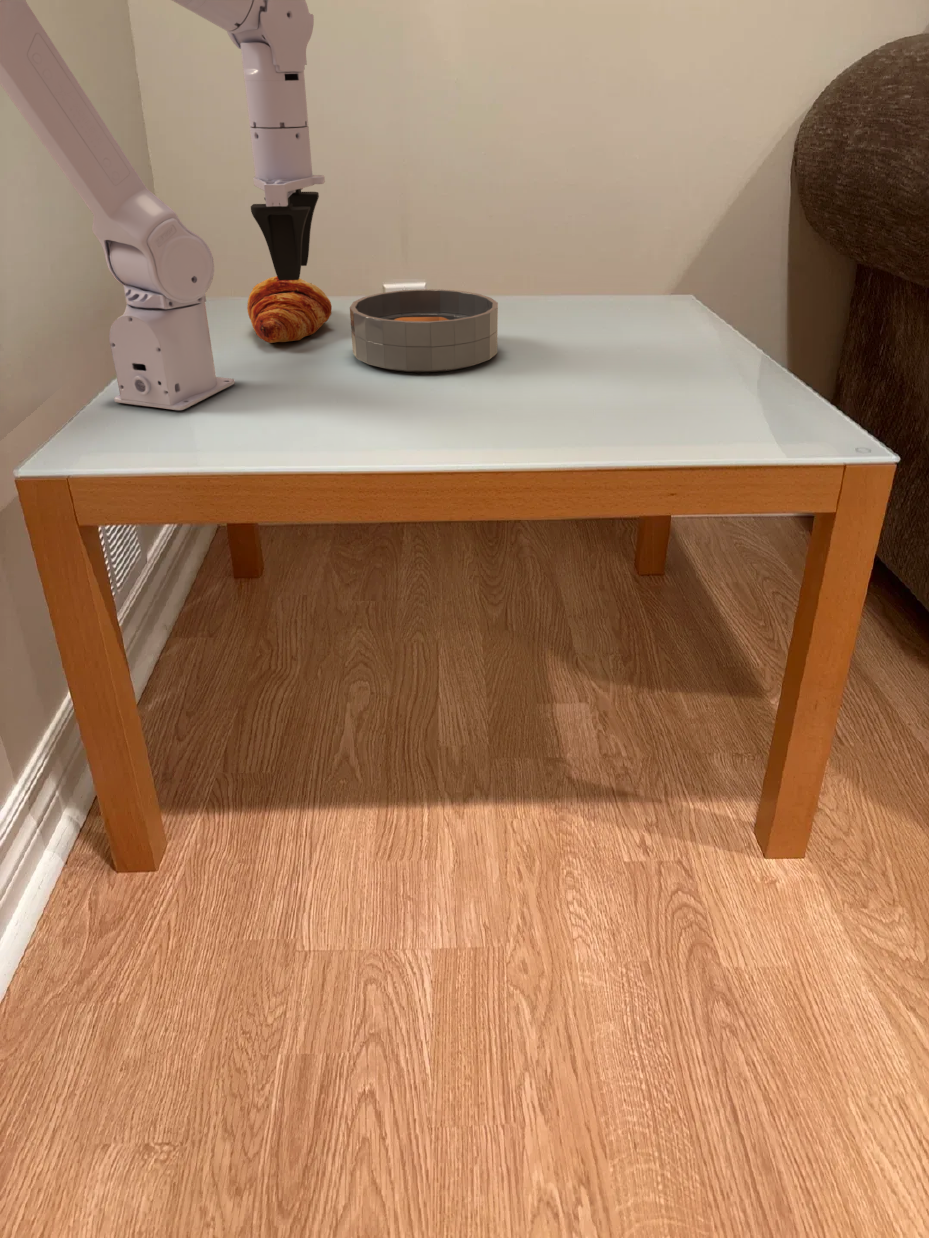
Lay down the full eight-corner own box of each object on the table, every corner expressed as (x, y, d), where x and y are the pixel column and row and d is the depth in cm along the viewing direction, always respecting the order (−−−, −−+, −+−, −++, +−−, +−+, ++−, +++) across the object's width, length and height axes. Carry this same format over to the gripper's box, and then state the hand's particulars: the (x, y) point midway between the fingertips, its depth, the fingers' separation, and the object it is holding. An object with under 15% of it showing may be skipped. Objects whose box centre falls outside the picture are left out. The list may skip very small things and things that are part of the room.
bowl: (467, 381, 95) (467, 327, 92) (328, 367, 100) (324, 315, 97) (515, 343, 108) (516, 295, 105) (390, 332, 113) (388, 285, 110)
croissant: (288, 335, 125) (255, 281, 121) (351, 299, 122) (319, 243, 119) (252, 378, 106) (211, 315, 103) (325, 337, 104) (286, 271, 100)
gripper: (312, 131, 84) (325, 285, 91) (326, 122, 96) (336, 259, 103) (235, 132, 84) (253, 287, 91) (258, 123, 96) (273, 260, 103)
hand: (293, 272), depth 97 cm, fingers open, 7 cm apart
